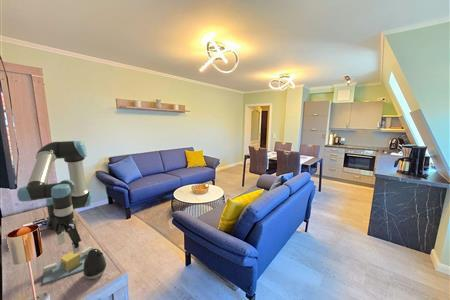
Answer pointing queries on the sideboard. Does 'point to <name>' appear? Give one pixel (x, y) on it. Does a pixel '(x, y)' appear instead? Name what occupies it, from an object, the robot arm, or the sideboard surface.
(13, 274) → the sideboard surface
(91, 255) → the dark grey dome
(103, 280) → the sideboard surface
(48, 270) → the shaft rig
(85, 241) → the sideboard surface
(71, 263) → the coupler
